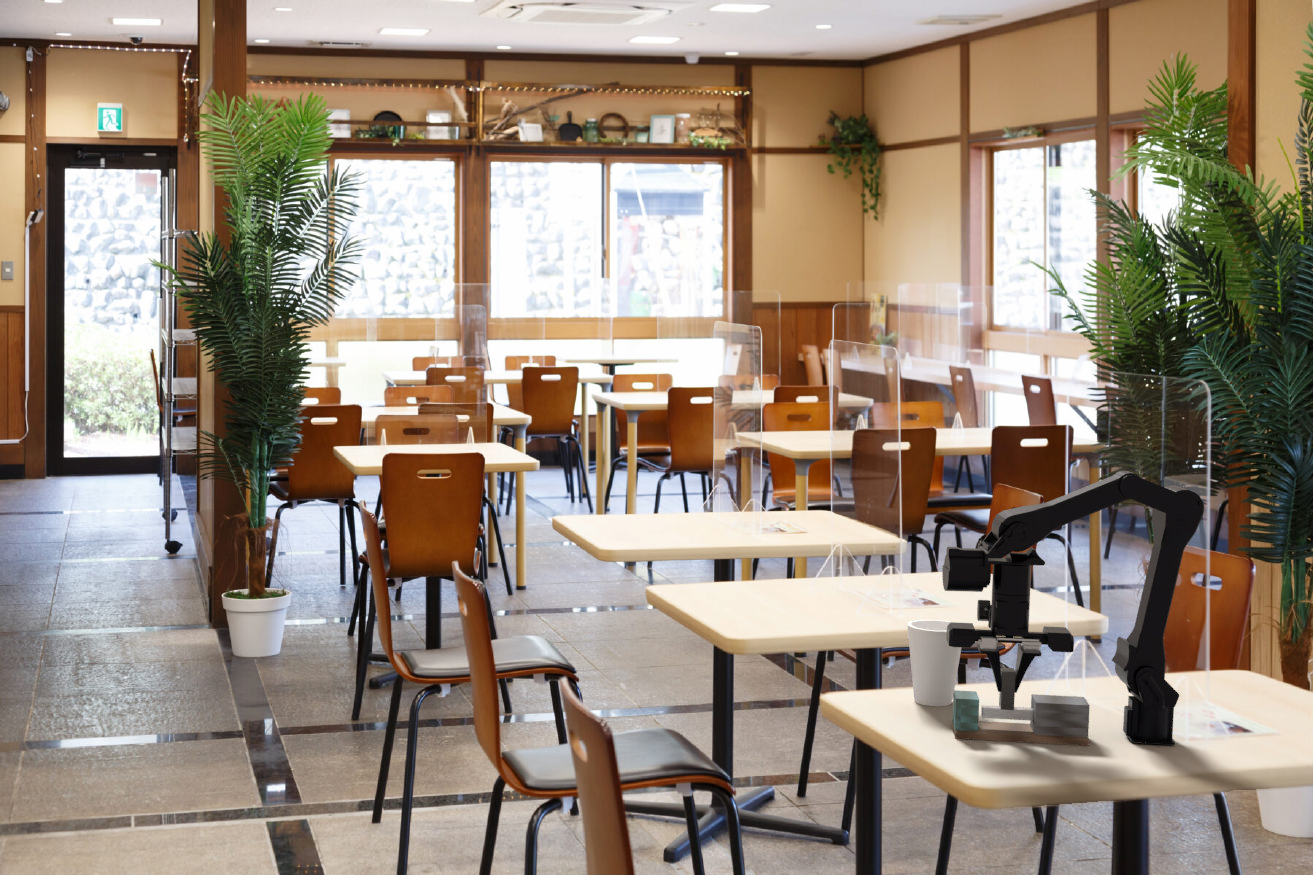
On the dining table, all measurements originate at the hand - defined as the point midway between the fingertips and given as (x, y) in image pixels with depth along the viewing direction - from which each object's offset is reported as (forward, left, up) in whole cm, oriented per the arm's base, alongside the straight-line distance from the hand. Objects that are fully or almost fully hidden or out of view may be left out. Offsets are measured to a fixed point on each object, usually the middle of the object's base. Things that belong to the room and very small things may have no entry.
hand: (1007, 691), depth 222 cm
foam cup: (+10, -18, -7) cm, 22 cm away
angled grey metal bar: (-3, 0, -4) cm, 5 cm away
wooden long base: (-2, 0, -7) cm, 7 cm away
